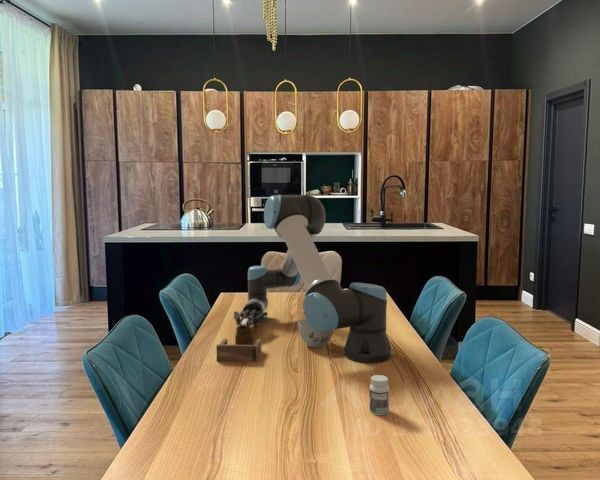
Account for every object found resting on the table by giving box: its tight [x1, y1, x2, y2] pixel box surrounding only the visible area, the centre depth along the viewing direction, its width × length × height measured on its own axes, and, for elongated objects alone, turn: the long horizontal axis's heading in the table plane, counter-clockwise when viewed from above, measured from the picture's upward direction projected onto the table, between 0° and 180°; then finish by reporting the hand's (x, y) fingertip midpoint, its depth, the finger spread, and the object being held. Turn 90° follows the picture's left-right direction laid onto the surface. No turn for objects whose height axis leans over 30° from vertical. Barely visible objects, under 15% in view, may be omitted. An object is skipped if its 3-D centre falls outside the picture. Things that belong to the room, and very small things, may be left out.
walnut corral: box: [216, 338, 262, 363], centre depth 163 cm, size 11×12×5 cm
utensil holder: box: [233, 312, 254, 345], centre depth 171 cm, size 6×6×12 cm
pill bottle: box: [369, 374, 390, 416], centre depth 123 cm, size 5×5×8 cm
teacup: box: [297, 318, 335, 349], centre depth 175 cm, size 15×12×8 cm
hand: (242, 327), depth 174 cm, fingers closed
